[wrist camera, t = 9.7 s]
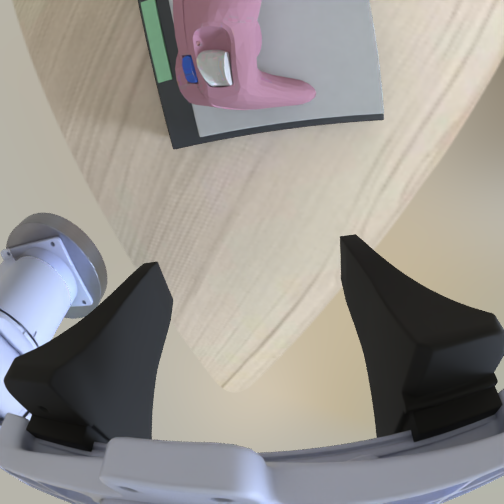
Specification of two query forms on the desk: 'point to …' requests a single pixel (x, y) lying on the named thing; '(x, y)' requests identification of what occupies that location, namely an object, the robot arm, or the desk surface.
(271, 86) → the video game controller
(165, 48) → the scale
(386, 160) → the desk surface
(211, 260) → the desk surface
